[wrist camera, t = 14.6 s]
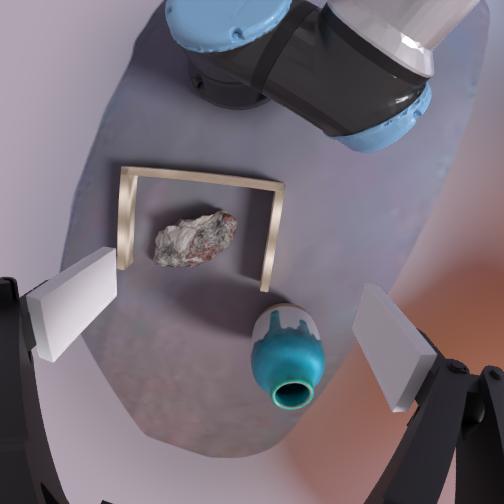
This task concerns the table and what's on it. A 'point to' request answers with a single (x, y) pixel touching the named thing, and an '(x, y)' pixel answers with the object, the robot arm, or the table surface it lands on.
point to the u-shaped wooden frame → (131, 172)
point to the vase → (287, 355)
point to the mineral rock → (194, 240)
